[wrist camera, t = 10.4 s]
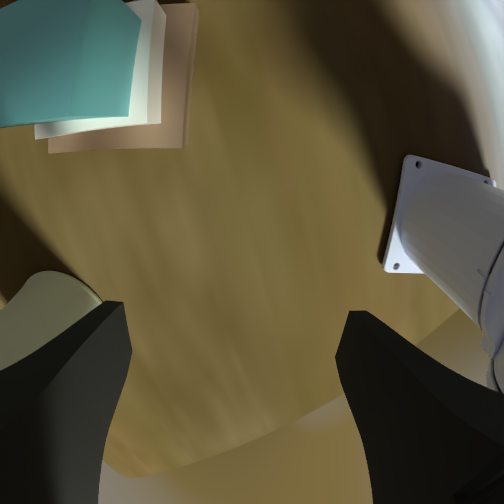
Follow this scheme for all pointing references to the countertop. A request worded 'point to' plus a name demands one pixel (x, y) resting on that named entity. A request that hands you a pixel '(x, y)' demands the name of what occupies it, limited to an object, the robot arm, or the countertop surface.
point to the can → (42, 313)
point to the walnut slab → (172, 97)
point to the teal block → (66, 60)
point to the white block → (143, 82)
